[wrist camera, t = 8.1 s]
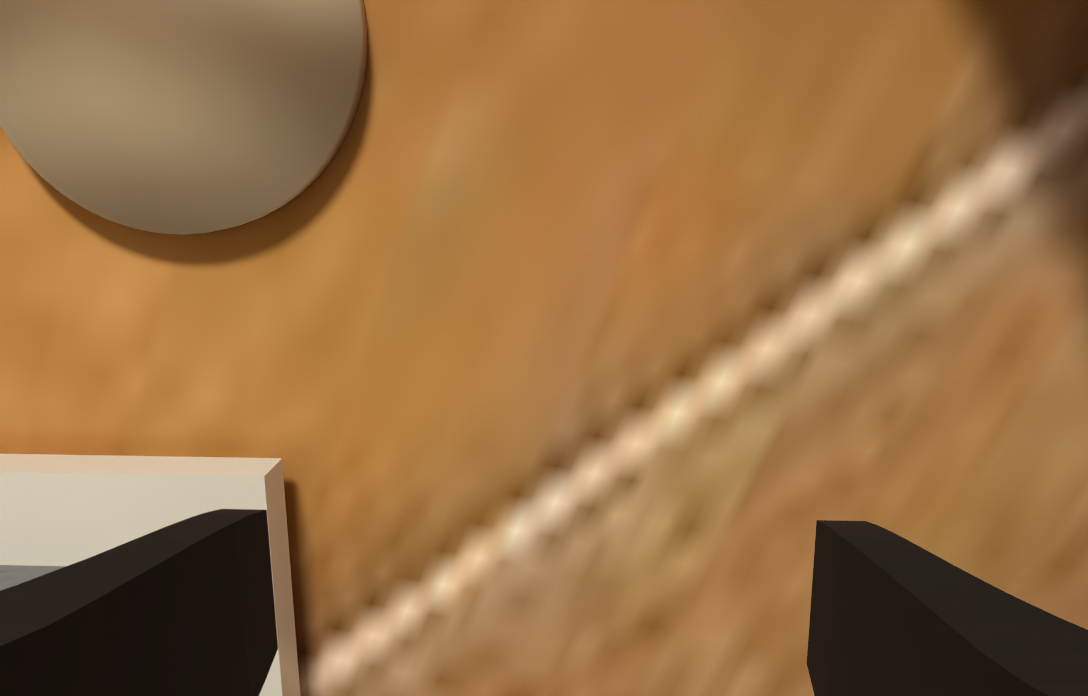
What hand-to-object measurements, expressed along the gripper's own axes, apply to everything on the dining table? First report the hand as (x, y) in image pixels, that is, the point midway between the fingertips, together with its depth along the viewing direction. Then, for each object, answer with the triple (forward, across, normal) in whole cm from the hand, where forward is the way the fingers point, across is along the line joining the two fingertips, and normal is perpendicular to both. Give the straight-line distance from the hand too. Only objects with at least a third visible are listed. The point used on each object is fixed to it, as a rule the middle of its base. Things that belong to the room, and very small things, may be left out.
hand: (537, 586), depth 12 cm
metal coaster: (+10, +9, -8) cm, 16 cm away
